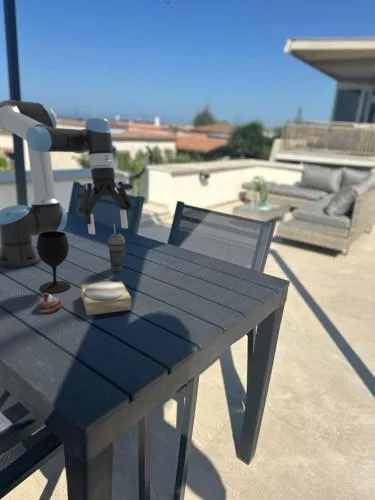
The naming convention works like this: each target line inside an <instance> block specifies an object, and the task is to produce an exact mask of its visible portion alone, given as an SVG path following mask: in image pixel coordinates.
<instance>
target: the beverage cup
mask: <svg viewBox="0 0 375 500" xmlns="http://www.w3.org/2000/svg"><path fill="white" fill-rule="evenodd" d="M112 223H113V230H114V231H113V232H114V233H113V234H111V235H110V236H109V237H108V239H107V245H108V246H107V247H108V251H109V263H110V270H111V271H113V272H119V271H122V270H123V264H124V256H125V255H124V253H125V247H126V240H125V237H124V236H123V234H121V233H118V232H116V226H115V224H116V223H115V222H112Z"/></svg>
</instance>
